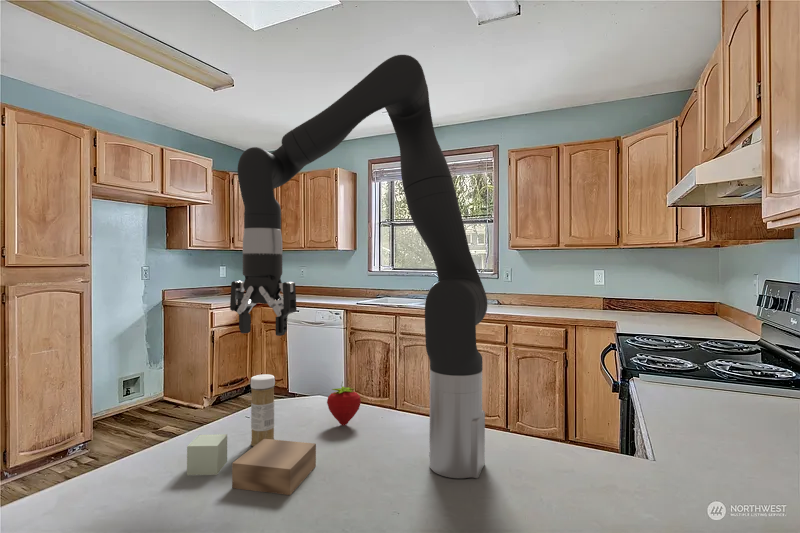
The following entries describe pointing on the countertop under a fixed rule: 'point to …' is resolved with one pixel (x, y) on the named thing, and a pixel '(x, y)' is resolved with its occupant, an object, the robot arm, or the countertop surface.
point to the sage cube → (207, 454)
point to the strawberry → (343, 404)
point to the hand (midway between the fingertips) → (262, 334)
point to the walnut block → (274, 466)
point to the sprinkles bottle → (262, 408)
